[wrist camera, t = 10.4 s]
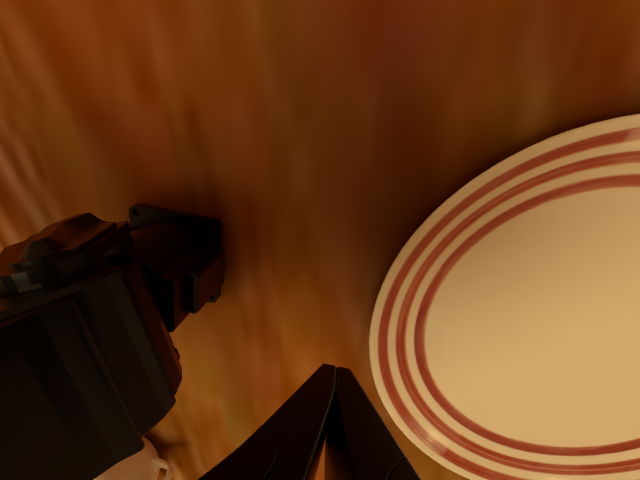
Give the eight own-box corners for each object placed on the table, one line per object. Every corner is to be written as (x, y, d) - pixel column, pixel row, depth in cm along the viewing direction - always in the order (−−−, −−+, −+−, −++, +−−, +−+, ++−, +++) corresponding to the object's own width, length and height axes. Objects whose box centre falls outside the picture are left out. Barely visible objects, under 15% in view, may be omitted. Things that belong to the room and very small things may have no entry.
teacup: (119, 475, 35) (77, 536, 30) (84, 421, 32) (32, 478, 27) (203, 471, 33) (173, 535, 28) (172, 413, 30) (134, 472, 25)
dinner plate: (650, 505, 27) (686, 556, 24) (328, 411, 28) (324, 448, 25) (978, 185, 17) (1115, 201, 14) (454, 52, 18) (472, 39, 15)
